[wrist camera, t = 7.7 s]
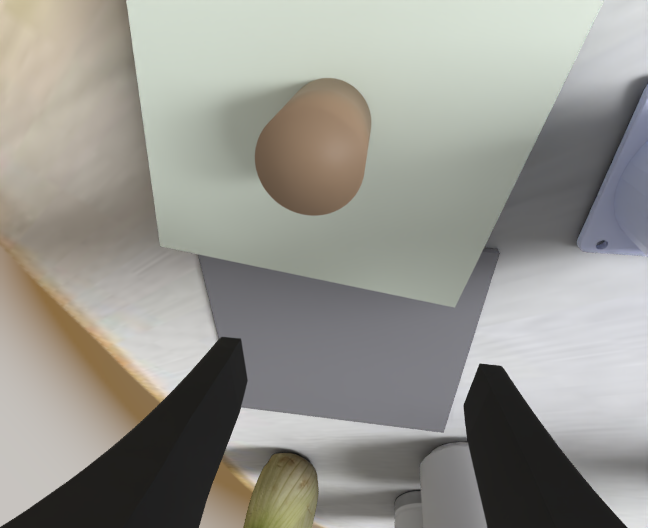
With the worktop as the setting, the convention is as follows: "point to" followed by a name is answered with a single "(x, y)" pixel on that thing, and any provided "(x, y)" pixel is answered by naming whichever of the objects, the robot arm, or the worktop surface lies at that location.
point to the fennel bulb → (284, 494)
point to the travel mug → (409, 510)
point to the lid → (347, 129)
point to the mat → (346, 344)
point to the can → (450, 489)
